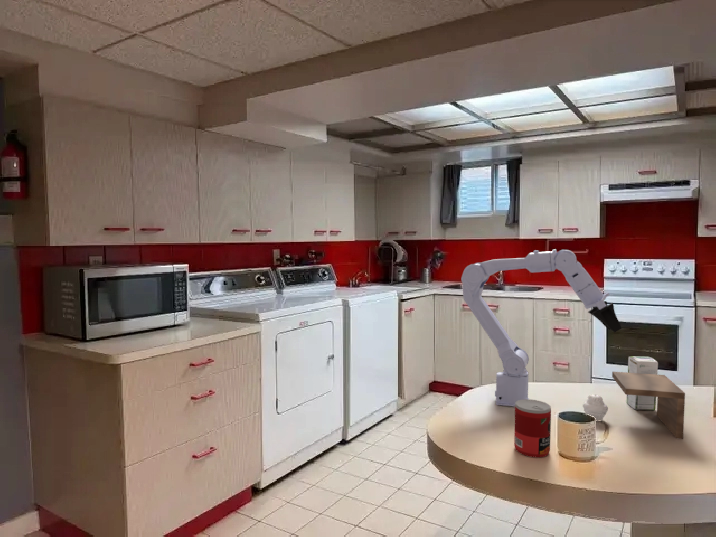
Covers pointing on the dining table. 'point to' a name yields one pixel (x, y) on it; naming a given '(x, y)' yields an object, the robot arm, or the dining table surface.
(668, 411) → the walnut shelf
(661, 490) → the dining table surface
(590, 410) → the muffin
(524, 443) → the canned food
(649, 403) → the syrup box
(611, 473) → the dining table surface
